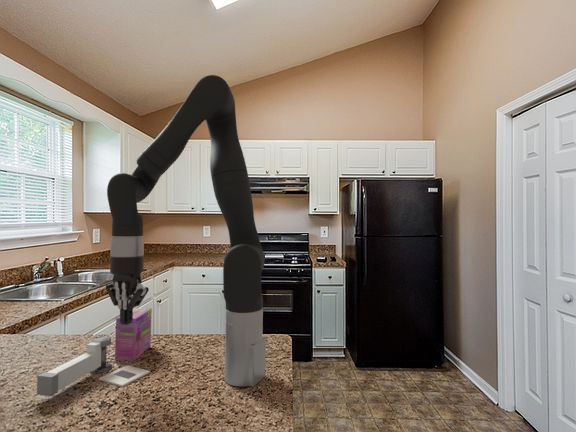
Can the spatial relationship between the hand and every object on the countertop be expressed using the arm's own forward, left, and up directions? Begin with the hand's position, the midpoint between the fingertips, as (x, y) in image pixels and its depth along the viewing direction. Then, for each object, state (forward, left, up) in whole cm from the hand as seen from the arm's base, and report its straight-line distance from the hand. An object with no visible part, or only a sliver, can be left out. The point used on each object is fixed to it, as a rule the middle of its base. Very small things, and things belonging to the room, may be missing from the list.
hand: (126, 323), depth 81 cm
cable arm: (+7, +7, -12) cm, 15 cm away
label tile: (0, 0, -13) cm, 13 cm away
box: (+10, -11, -13) cm, 20 cm away
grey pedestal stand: (+9, 0, -13) cm, 16 cm away
